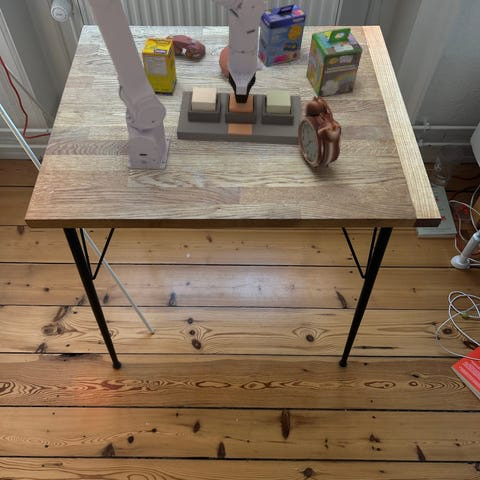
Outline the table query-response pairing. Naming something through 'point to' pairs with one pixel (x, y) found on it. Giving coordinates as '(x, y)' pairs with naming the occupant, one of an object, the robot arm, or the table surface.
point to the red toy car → (186, 45)
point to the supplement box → (160, 65)
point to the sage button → (278, 102)
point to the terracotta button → (241, 105)
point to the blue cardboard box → (281, 34)
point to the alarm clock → (319, 134)
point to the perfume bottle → (224, 60)
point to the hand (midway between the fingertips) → (241, 101)
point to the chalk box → (333, 61)
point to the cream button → (204, 99)
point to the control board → (239, 122)
